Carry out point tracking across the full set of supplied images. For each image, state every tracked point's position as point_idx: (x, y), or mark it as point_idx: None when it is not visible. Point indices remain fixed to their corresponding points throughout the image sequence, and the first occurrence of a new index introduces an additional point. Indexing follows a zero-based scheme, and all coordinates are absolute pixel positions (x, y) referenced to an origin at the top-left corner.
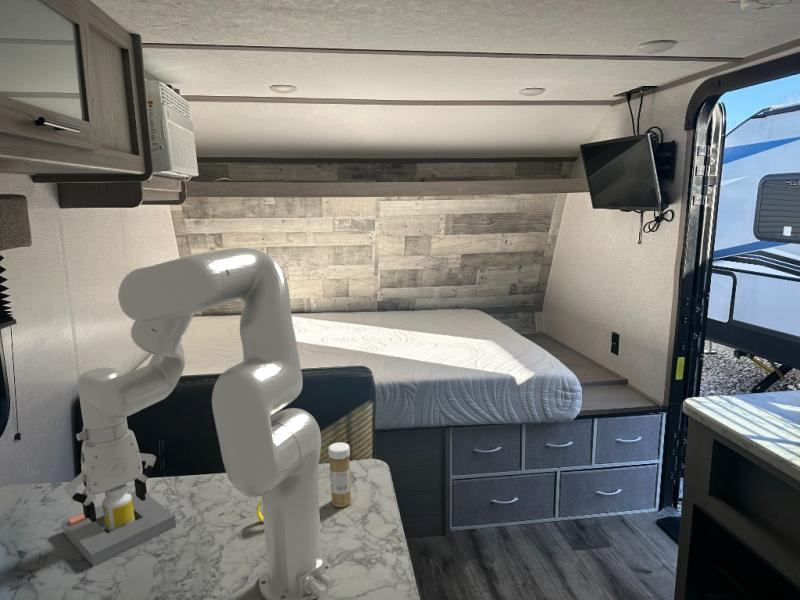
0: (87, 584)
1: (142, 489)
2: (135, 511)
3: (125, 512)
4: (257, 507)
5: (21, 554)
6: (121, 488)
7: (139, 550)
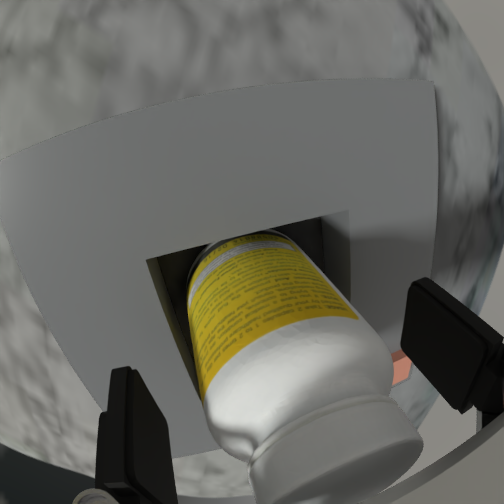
0: (418, 6)
1: (119, 435)
2: (177, 344)
3: (260, 289)
4: None
5: (470, 300)
6: (333, 469)
7: (216, 47)
